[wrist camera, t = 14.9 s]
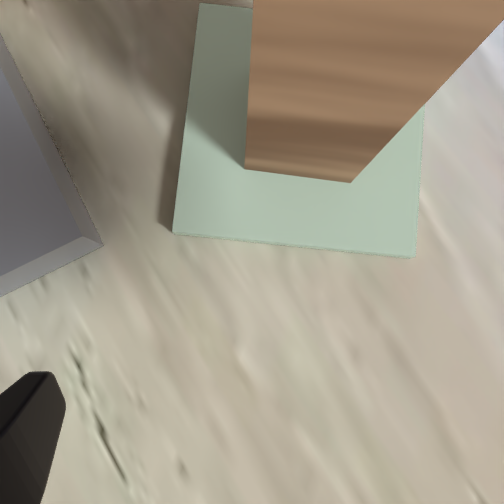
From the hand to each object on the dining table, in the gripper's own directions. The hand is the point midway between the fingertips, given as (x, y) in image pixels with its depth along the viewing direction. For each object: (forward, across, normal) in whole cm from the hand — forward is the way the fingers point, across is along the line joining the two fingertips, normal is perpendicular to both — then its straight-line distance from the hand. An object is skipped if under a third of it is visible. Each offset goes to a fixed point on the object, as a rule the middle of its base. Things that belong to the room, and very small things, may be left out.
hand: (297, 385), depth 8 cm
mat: (+12, 0, 0) cm, 12 cm away
